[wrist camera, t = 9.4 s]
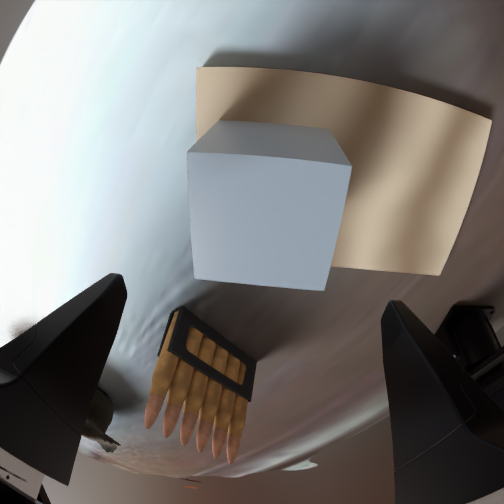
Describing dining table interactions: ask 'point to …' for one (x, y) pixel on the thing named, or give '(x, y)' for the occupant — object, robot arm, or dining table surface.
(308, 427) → the dining table surface
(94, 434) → the stone bowl
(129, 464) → the dining table surface
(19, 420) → the robot arm
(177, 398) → the ammunition clip
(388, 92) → the stub board
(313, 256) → the pale grey cube
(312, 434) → the dining table surface
